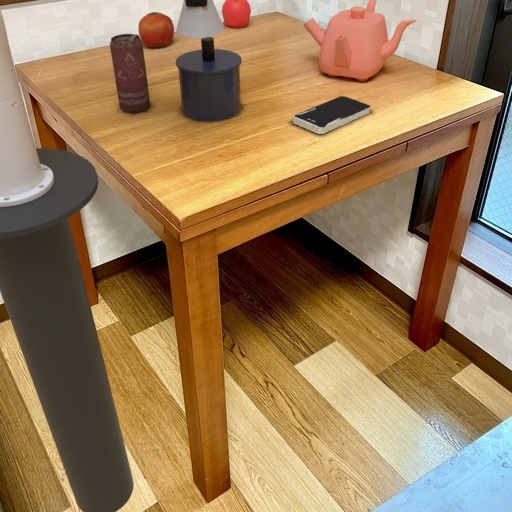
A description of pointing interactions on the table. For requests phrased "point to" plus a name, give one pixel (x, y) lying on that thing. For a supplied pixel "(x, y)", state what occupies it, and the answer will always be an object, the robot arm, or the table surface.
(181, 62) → the pot lid
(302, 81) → the table surface
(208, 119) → the pot
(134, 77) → the can
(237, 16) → the apple
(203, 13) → the flask
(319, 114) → the smartphone
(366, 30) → the teapot
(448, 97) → the table surface
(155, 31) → the tomato
